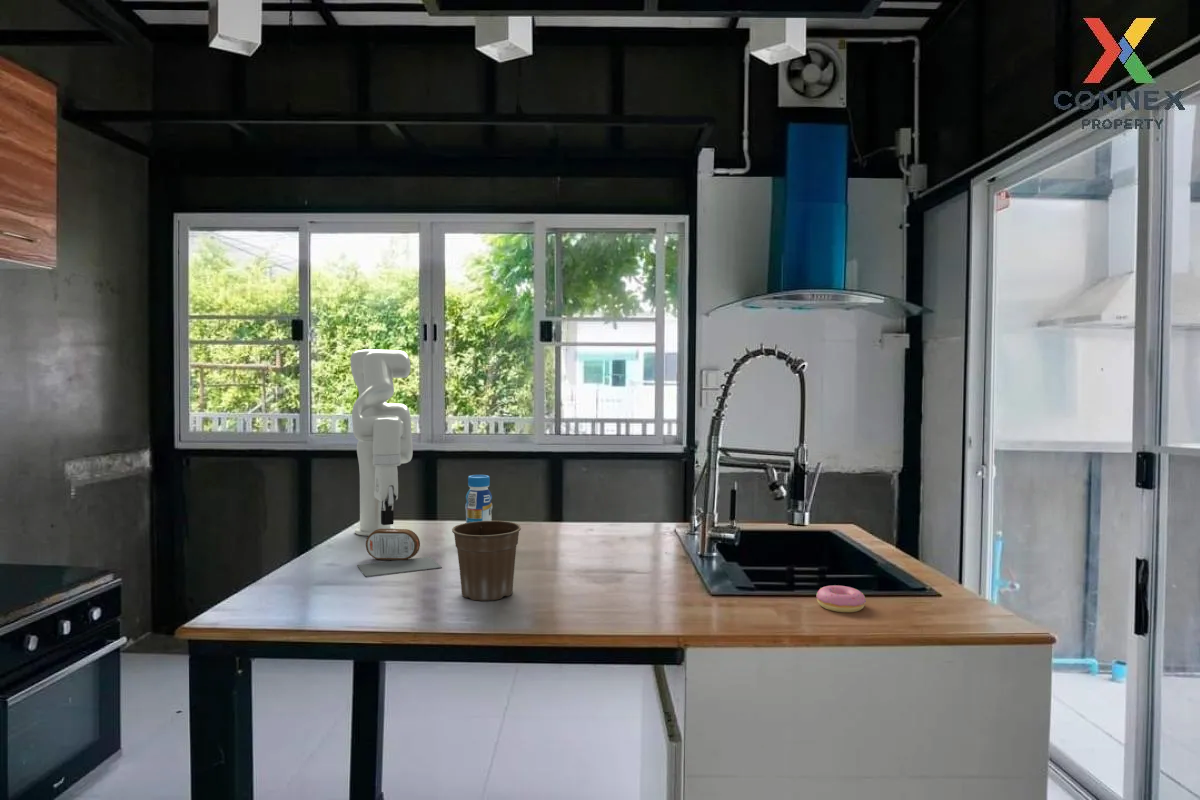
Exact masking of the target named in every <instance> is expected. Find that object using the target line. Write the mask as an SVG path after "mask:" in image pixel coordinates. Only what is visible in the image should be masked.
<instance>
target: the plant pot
mask: <svg viewBox="0 0 1200 800" xmlns="http://www.w3.org/2000/svg"><path fill="white" fill-rule="evenodd" d="M521 529H522V527H521V525H520V524H517V523H515V522H512V521H504V520H492V521H477V522H469V523H466V522H465V523H461V524H457V525H455V526H453V527H452V528H451V531H452V532H451V533H453V535H454V542H455V547H456V550H457V558H458V565H459V566H458V567H459V568H458V569H459V576H460V587H461V595H462V597H464V598H466V599H467V598H469V599H470V600H471V601H472V600H473V601H481V602H486V601H487V602H489V600H491V601H495V600H496V601H498V600H501V599H502V598H503V597H506V598H507V597H509V596H511V595H512V593H513V591H514V576H515V566H516V565H515V564H516V553H517V545H518V544H519V536H520V535H519V534H520V531H521Z"/></svg>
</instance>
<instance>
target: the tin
mask: <svg viewBox="0 0 1200 800" xmlns="http://www.w3.org/2000/svg"><path fill="white" fill-rule="evenodd" d="M420 547H421V540H420V538H419V536H418V535H417V533H415V532H414V531H413V530H411V529H406V528H395V529H377V530H375V531H374V532H372V533H371V534H370V535H369V536H367V538H366V540H365V548H366V549H365V550H366V551H367V553H368V555H369V556H370V557H371V558H373V559H375V560H384V561H386V560H388V561H390V560H391V561H396V560H407V559H412V558H413V557H415V556H416V555H417V554H418V553H419V551H420Z"/></svg>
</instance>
